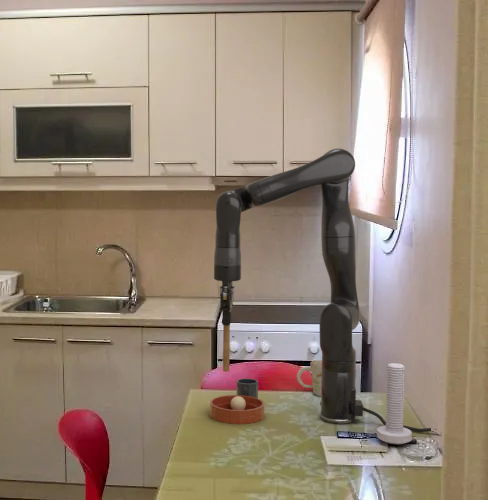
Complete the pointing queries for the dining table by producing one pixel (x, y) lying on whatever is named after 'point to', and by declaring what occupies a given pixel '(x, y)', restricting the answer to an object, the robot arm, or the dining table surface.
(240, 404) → the dough ball
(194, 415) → the dining table surface
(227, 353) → the stick
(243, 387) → the tube
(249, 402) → the bowl
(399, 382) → the screw
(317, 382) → the mug
